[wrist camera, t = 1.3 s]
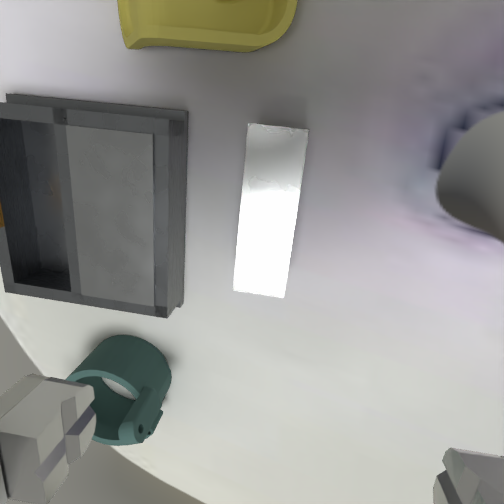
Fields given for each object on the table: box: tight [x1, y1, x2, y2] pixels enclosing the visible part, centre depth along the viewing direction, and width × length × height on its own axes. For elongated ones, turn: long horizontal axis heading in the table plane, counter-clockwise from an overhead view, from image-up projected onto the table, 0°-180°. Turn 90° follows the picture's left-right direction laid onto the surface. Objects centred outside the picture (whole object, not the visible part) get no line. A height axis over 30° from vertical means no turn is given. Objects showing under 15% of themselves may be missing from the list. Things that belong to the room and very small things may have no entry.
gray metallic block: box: [233, 123, 309, 298], centre depth 23 cm, size 11×4×5 cm, turn 174°
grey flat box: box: [0, 93, 188, 318], centre depth 25 cm, size 16×14×4 cm
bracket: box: [66, 335, 172, 446], centre depth 29 cm, size 9×9×9 cm
